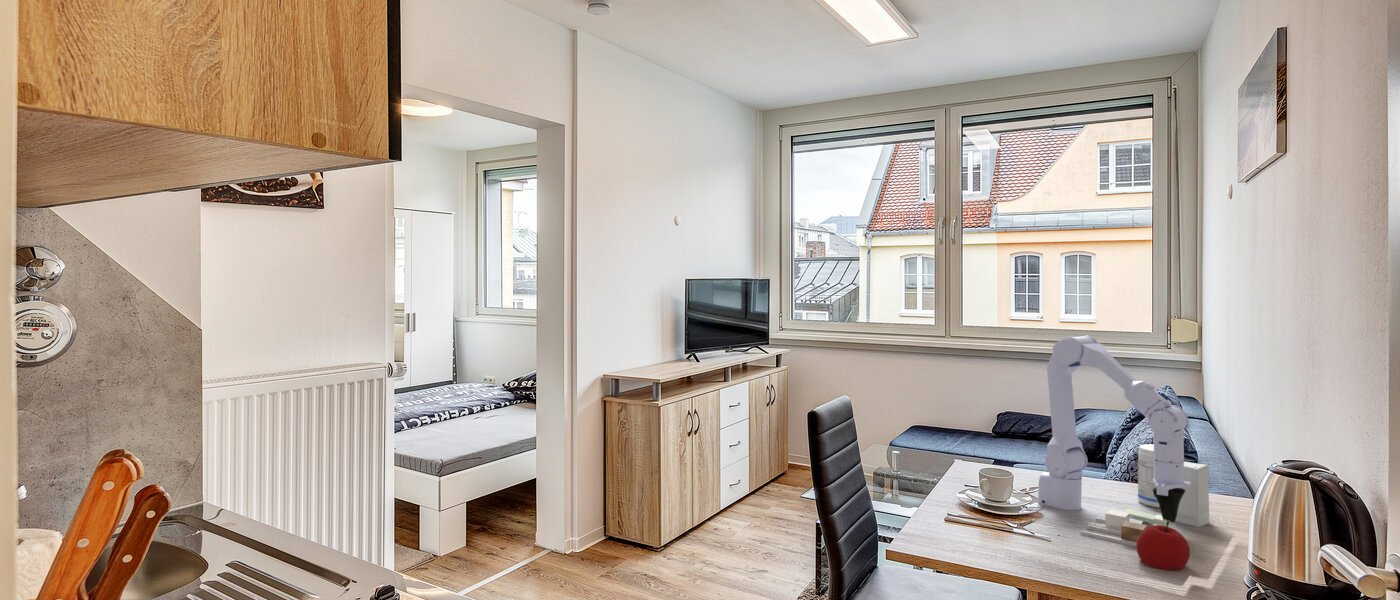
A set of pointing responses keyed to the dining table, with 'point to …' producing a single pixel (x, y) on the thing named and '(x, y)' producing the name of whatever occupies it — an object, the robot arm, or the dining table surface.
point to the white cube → (1116, 518)
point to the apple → (1163, 548)
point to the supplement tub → (1146, 475)
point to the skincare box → (1194, 496)
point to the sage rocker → (1147, 517)
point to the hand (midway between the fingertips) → (1169, 520)
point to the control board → (1108, 530)
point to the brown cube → (1131, 531)
